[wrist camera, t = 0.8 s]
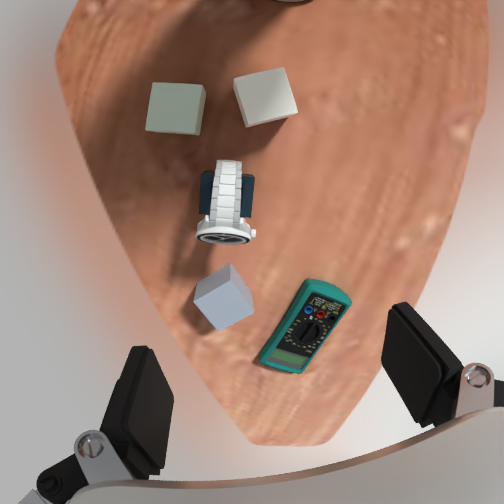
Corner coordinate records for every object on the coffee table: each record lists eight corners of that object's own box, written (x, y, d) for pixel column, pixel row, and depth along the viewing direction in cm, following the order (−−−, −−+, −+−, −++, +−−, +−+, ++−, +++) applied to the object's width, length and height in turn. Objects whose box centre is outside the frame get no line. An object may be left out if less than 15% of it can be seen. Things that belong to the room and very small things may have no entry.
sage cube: (163, 91, 28) (152, 82, 23) (206, 93, 29) (202, 84, 24) (157, 132, 30) (145, 130, 25) (199, 135, 30) (194, 133, 26)
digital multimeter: (349, 290, 39) (357, 301, 36) (297, 365, 43) (301, 378, 41) (307, 272, 38) (313, 282, 35) (256, 353, 42) (258, 366, 39)
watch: (200, 224, 34) (188, 259, 24) (205, 155, 31) (192, 160, 21) (248, 227, 34) (256, 263, 24) (254, 159, 32) (266, 165, 21)
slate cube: (197, 281, 37) (193, 301, 32) (230, 262, 36) (230, 280, 31) (219, 309, 38) (218, 331, 34) (251, 292, 38) (254, 312, 33)
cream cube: (233, 88, 29) (234, 78, 24) (275, 77, 28) (283, 67, 24) (245, 128, 30) (248, 124, 26) (288, 117, 30) (298, 112, 26)
